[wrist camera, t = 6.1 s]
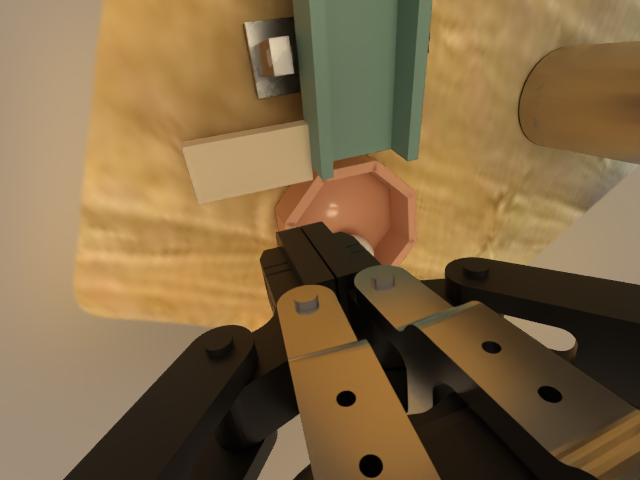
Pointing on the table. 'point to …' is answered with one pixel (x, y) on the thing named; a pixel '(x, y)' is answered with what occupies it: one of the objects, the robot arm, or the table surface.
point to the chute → (330, 100)
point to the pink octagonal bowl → (356, 206)
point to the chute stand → (274, 56)
